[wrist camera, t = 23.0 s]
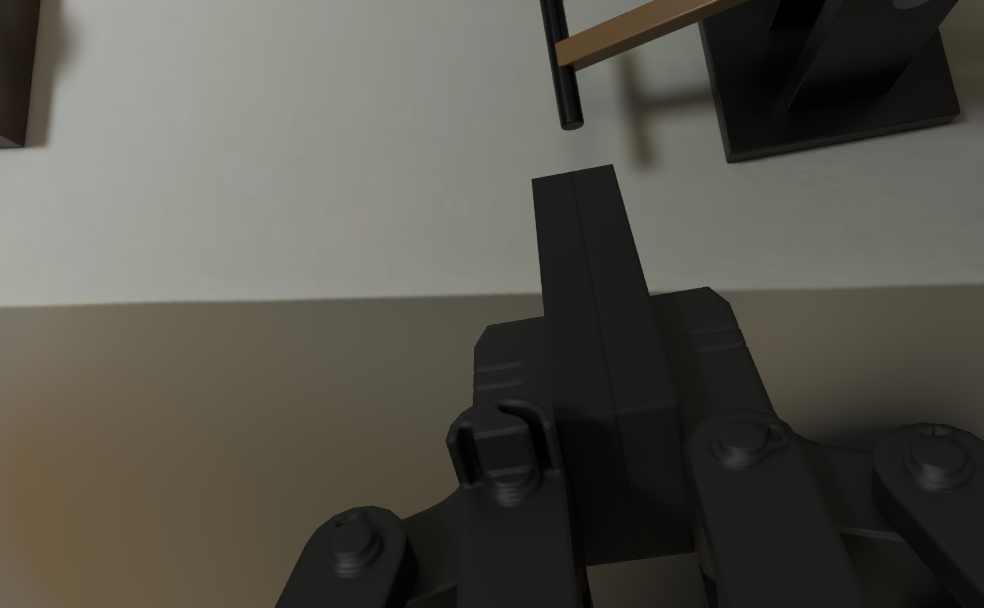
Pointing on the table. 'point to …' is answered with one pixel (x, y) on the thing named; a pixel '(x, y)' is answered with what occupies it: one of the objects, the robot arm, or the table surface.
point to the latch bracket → (825, 72)
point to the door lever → (611, 41)
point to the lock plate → (16, 67)
